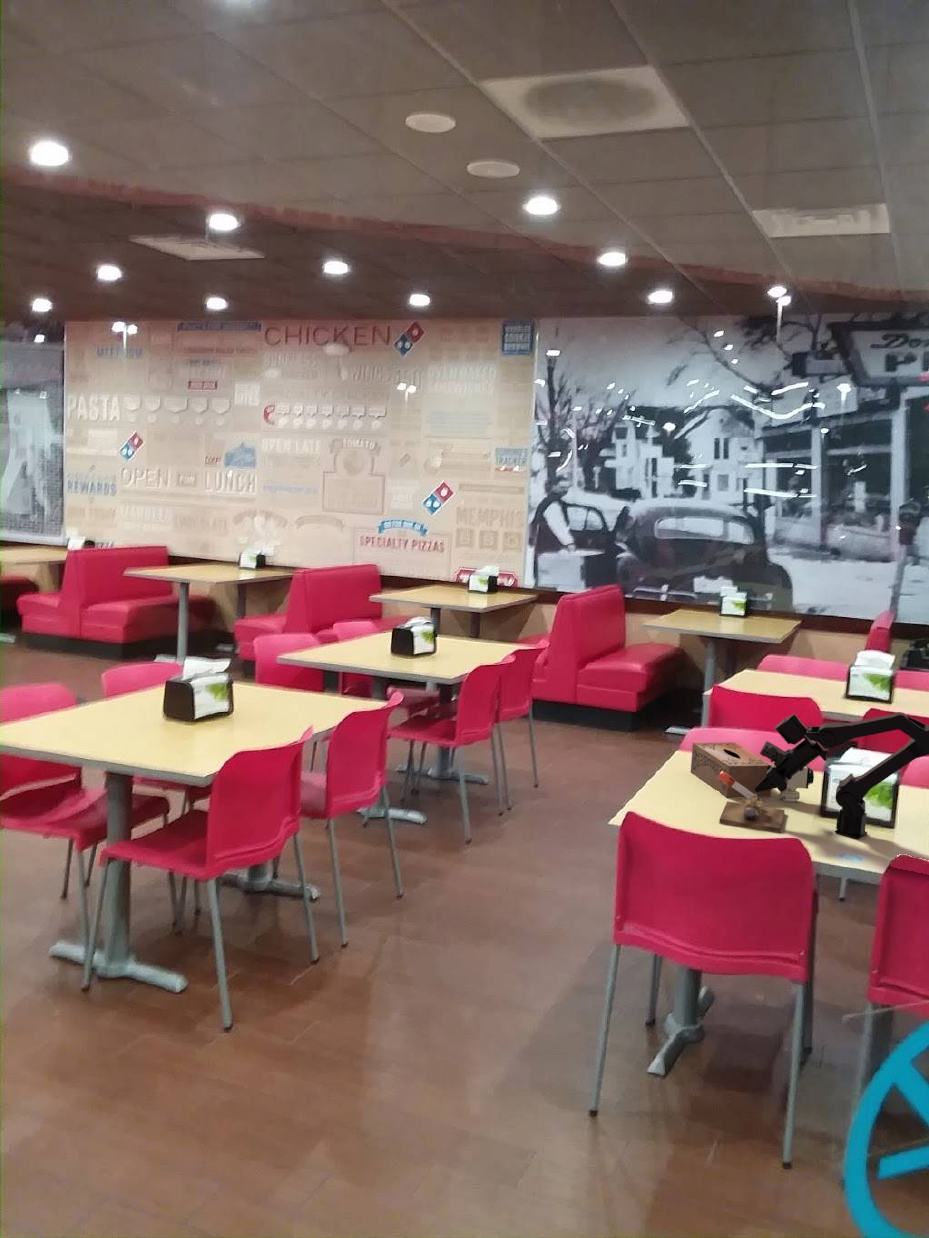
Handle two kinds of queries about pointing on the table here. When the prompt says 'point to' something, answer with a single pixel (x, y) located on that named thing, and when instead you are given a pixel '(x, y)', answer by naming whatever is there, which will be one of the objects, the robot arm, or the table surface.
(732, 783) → the lever
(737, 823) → the mounting board
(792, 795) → the pneumatic valve
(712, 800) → the table surface
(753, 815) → the valve body
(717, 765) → the tissue box cover
